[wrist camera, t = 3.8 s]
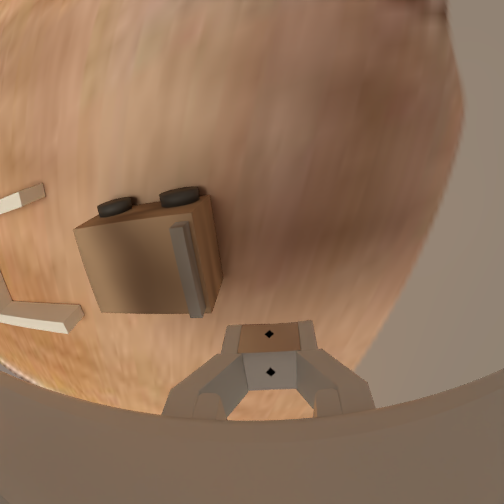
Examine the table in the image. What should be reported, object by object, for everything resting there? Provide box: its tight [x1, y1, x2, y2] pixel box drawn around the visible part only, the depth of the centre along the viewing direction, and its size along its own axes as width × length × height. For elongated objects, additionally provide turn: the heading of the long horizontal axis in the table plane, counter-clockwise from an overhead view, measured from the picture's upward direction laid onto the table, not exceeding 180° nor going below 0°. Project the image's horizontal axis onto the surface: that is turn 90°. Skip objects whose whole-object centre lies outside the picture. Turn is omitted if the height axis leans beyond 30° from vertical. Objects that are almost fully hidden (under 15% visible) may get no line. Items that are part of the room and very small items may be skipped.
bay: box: [0, 183, 84, 334], centre depth 20 cm, size 14×13×3 cm
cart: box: [73, 187, 223, 318], centre depth 17 cm, size 8×7×5 cm
